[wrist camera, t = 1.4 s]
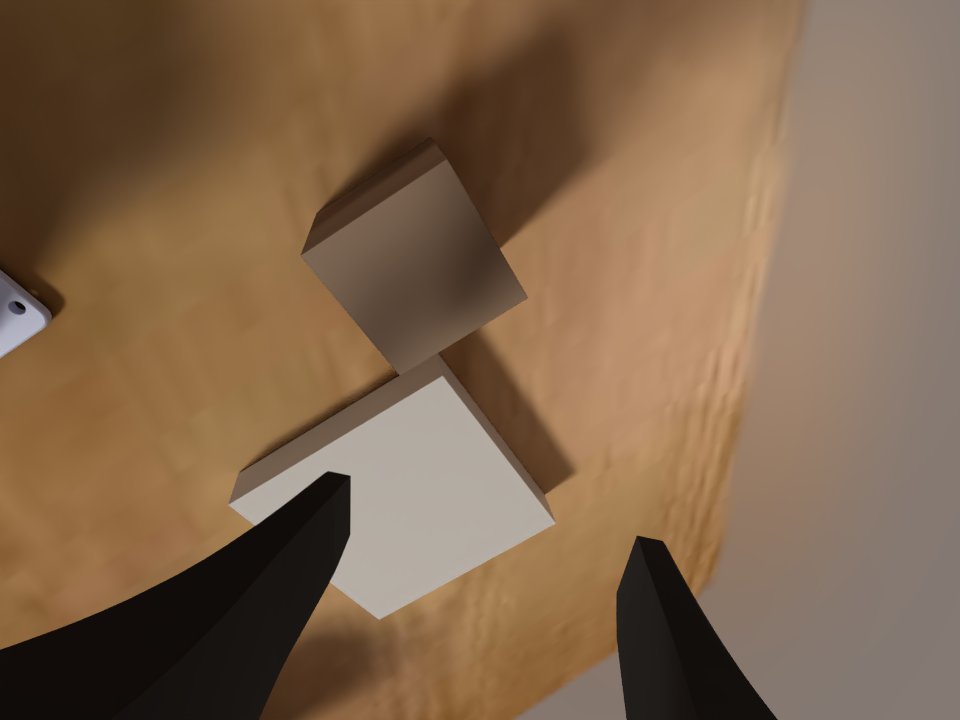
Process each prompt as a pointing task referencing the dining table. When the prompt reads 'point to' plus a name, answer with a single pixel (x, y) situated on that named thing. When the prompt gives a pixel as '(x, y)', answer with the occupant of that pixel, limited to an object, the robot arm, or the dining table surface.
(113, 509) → the dining table surface
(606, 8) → the dining table surface
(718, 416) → the dining table surface
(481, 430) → the stoneware tile
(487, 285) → the walnut block
